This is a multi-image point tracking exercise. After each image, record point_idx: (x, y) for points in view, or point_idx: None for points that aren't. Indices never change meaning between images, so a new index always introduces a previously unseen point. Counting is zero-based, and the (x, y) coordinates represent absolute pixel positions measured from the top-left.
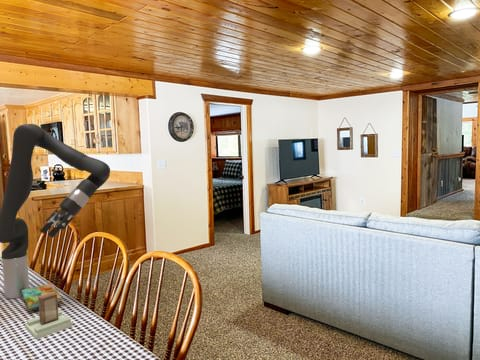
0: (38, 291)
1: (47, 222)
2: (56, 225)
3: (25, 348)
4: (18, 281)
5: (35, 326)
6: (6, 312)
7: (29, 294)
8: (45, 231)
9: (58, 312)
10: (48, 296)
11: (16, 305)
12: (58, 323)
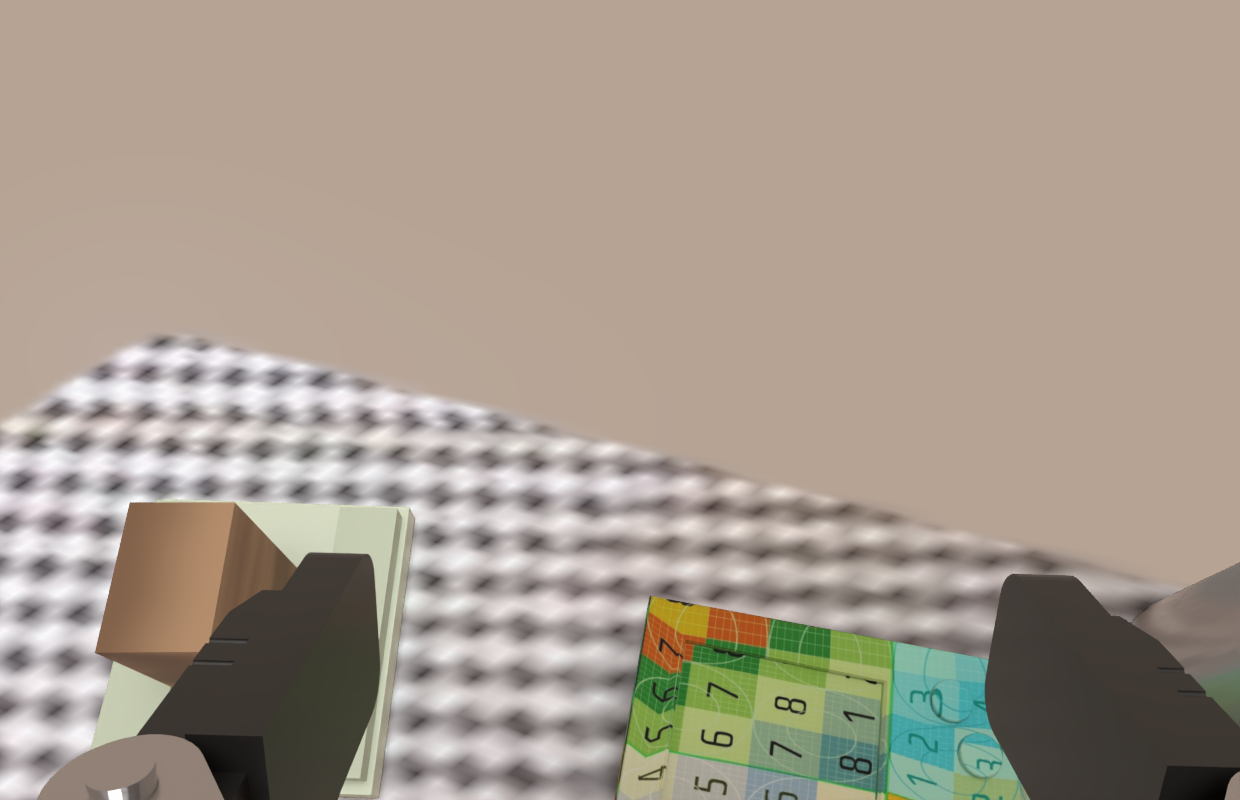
0: (944, 787)
1: (1220, 796)
2: (77, 783)
3: (122, 427)
4: (1210, 651)
5: (297, 544)
6: (832, 510)
7: (917, 689)
8: (1013, 727)
9: None
10: (134, 571)
11: (933, 608)
12: (114, 661)
